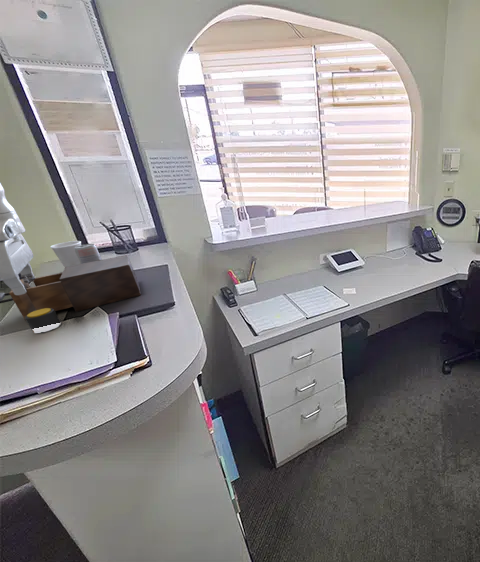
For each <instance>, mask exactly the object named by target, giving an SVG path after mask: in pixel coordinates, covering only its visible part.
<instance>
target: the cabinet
mask: <svg viewBox="0 0 480 562" xmlns="http://www.w3.org/2000/svg"><path fill="white" fill-rule="evenodd" d="M62 272H63V273H62ZM62 272H61V273H62V275H61V277H60V281H61V283H62V285H63V287H64V289H65V291H66V293H67V295H68V297H69V299H70V301H71V303H72V305H73V307H72V308H73V309H74V312H76V313H77V312H82V311H85V310H88V309H93V308H96V307H101V306H105V305H107V304H112V303H116V302H120V301H123V300H128V299H131V298H136V297H139V296H141V295H142V293H141V288H140V282H139V280H138V277H137V274H136V272H135V270H134V267H133V265H132V263H131V260H130V257H129V255H128V254H126V255H119V256H115V257H108V258H104V259H102V260H98V261H93V262H88V263H83V264H78V265H73V266H67V267H64V268H63V271H62Z"/></svg>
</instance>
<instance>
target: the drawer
mask: <svg viewBox="0 0 480 562" xmlns="http://www.w3.org/2000/svg"><path fill="white" fill-rule="evenodd" d="M62 273H63V271H62V272H58V273H53V274H48V275H43V276H39V277H35V280H34V281H33V282H32V283H33V284H34V286H31V285H30V282H29V283H25V282H24V281H23V279H22V278H21V279H20V281H21V282H22V284H24V285H25V287H26V288H27V292H26V293H25V294H22V295H15V294H14V293H13V291H12V289H10V291H8V292H0V304H5V303H9V302H14V304H15V306H16V307H17V309H18V311H19V313H20V314H21V315H22V318H23V319H24V321H26V319H25V316H27V315H28V314H29V313H31V312H33V311H36V310H40V309H44V308H52V309H54V311H55V312H57V311H62V310H66V309H69V308H74V307H73V305H72V303H71V301H70V299H69V297H68V295H67V293H66V291H65V289H64V287H63V285H62V283H61V281H60V277H61V275H62ZM6 296H10V298H5V297H6Z"/></svg>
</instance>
